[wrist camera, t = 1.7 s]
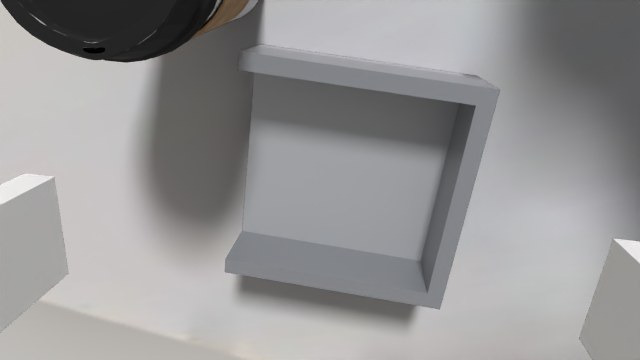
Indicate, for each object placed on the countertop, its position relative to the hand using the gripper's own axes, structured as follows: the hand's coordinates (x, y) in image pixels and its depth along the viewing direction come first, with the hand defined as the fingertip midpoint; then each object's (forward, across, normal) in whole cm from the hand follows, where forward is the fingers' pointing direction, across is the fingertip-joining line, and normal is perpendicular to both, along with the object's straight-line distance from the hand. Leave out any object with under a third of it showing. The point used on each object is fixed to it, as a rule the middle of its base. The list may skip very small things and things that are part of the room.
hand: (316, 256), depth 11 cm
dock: (+21, 0, -4) cm, 21 cm away
